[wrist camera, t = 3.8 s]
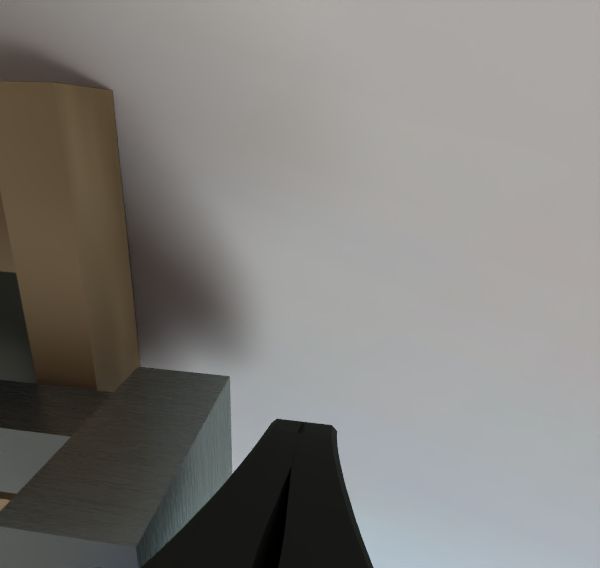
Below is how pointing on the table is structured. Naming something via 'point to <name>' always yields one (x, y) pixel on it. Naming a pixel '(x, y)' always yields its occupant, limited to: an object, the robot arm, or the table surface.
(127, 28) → the table surface
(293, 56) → the table surface
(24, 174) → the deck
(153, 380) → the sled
